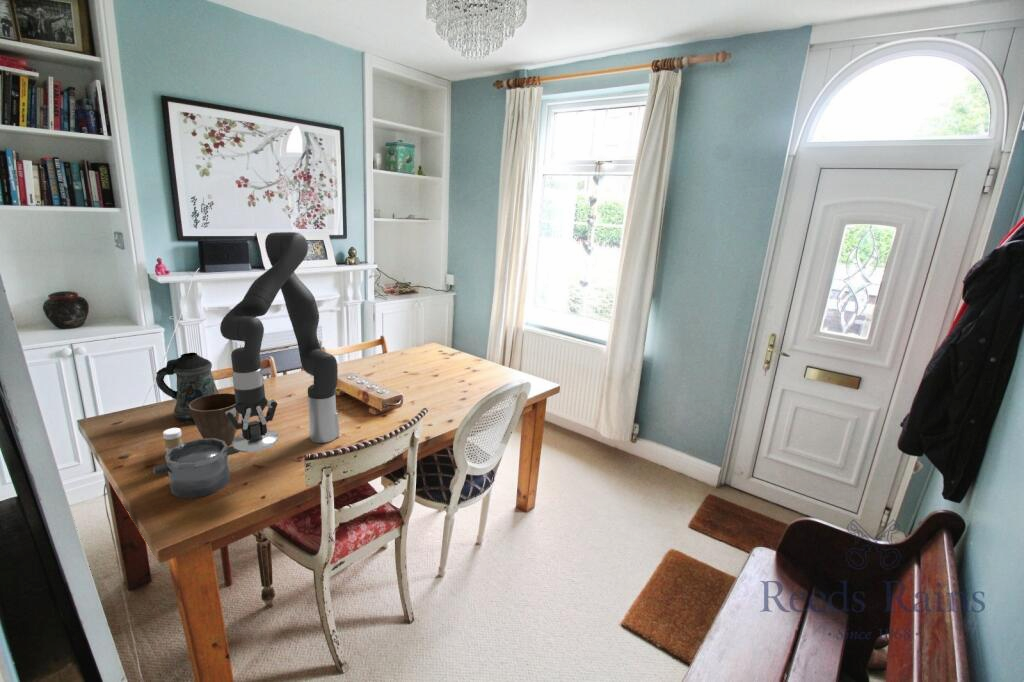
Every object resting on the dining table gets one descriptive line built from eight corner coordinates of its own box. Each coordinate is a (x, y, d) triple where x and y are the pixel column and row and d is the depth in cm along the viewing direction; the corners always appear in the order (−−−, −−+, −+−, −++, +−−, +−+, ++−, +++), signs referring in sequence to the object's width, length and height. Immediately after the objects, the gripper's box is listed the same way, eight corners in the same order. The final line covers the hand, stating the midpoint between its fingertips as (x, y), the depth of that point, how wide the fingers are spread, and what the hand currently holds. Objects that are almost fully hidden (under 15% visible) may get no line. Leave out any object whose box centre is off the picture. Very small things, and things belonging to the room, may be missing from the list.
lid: (271, 428, 148) (270, 411, 146) (283, 444, 140) (281, 426, 138) (228, 439, 141) (226, 421, 139) (237, 456, 132) (235, 437, 130)
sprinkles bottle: (184, 463, 152) (178, 425, 148) (188, 469, 149) (182, 431, 145) (167, 468, 148) (160, 430, 145) (170, 474, 145) (164, 435, 142)
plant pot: (183, 451, 159) (177, 407, 154) (216, 431, 173) (211, 390, 168) (224, 457, 157) (219, 413, 152) (254, 436, 171) (250, 395, 167)
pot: (234, 461, 155) (230, 431, 151) (247, 482, 144) (243, 450, 141) (154, 484, 140) (148, 450, 137) (162, 509, 130) (156, 473, 127)
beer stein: (233, 414, 186) (226, 354, 179) (178, 431, 171) (168, 366, 164) (212, 402, 195) (205, 344, 188) (158, 417, 179) (148, 355, 172)
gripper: (270, 374, 142) (276, 425, 147) (217, 384, 132) (224, 439, 137) (279, 382, 137) (284, 434, 142) (224, 393, 127) (232, 449, 132)
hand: (255, 436), depth 140 cm, fingers closed on lid, 3 cm apart
